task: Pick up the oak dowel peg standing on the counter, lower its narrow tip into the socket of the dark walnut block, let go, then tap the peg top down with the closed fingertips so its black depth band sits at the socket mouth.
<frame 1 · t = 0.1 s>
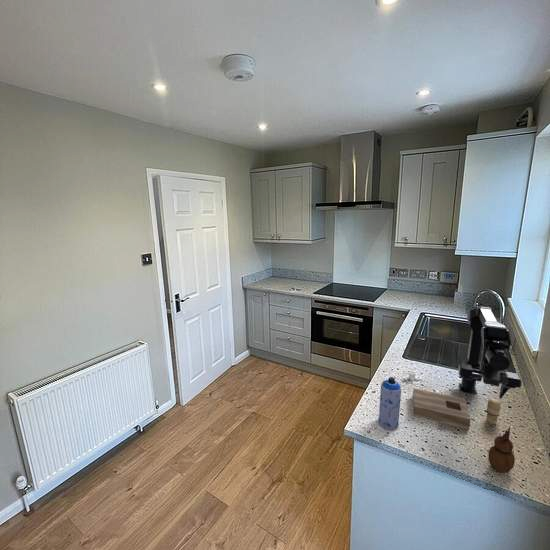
hand: (485, 394, 113), 14 cm above the worktop, fingers open, 9 cm apart
walnut socket block: (438, 411, 125), on the worktop
teacup and saucer: (416, 383, 147), on the worktop
brown bottle gourd: (499, 469, 97), on the worktop
aerosol can: (388, 423, 119), on the worktop
oak peg: (491, 421, 119), on the worktop
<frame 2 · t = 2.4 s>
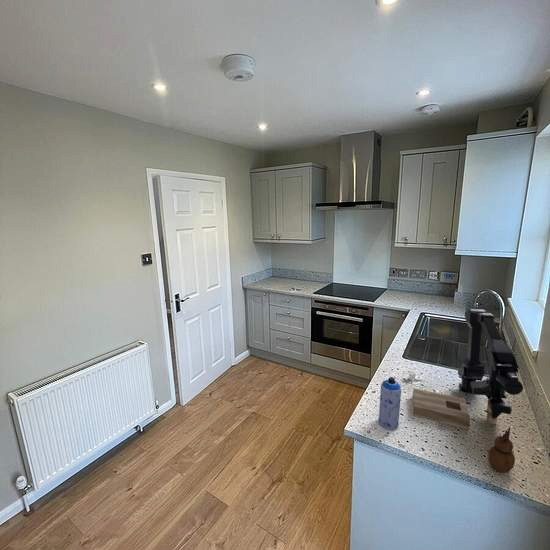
hand: (492, 414, 119), 3 cm above the worktop, fingers closed on oak peg, 4 cm apart
oak peg: (491, 421, 119), on the worktop, touching gripper
everything else where it was.
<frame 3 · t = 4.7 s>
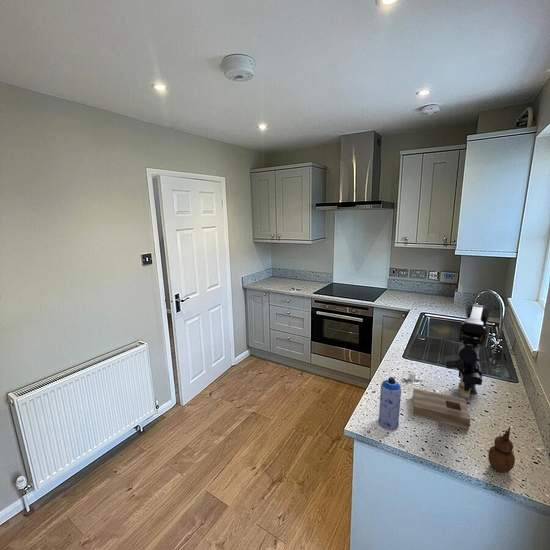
hand: (465, 388, 119), 13 cm above the worktop, fingers closed on oak peg, 4 cm apart
oak peg: (464, 395, 120), point 10 cm above the worktop, touching gripper
everything else where it was.
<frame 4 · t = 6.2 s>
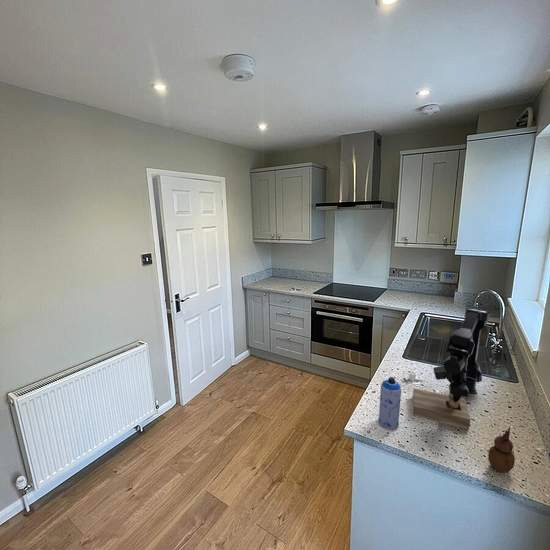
hand: (454, 398, 122), 8 cm above the worktop, fingers closed on oak peg, 4 cm apart
oak peg: (453, 405, 122), point 4 cm above the worktop, touching gripper
everything else where it was.
when the fingers open (5 cm above the worktop, at t = 7.5 s): oak peg drops 1 cm, resting on walnut socket block.
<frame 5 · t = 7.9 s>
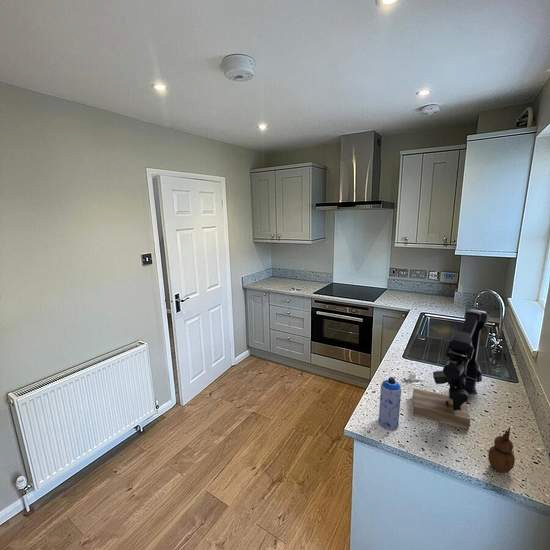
hand: (453, 403, 122), 5 cm above the worktop, fingers open, 9 cm apart
oak peg: (452, 412, 123), point 1 cm above the worktop, touching walnut socket block
everything else where it was.
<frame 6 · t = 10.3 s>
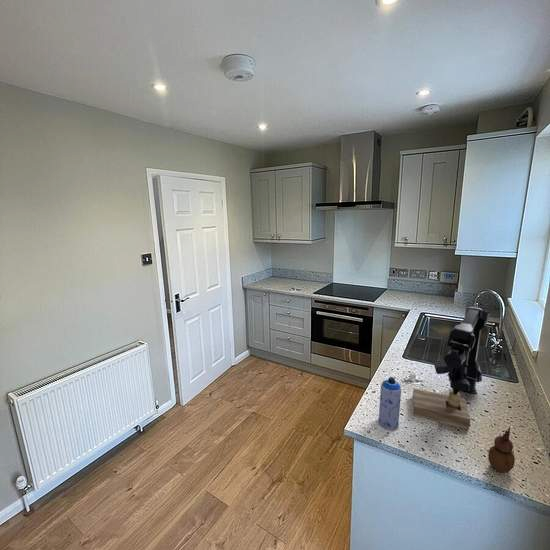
hand: (454, 393, 121), 10 cm above the worktop, fingers closed, pressing on oak peg
oak peg: (452, 412, 123), point 1 cm above the worktop, touching gripper, walnut socket block
everything else where it was.
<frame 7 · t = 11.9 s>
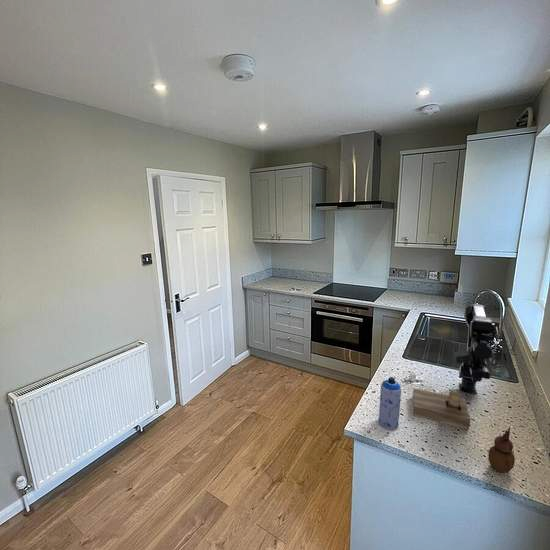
hand: (474, 382, 126), 12 cm above the worktop, fingers closed
oak peg: (452, 412, 123), point 1 cm above the worktop, touching walnut socket block
everything else where it was.
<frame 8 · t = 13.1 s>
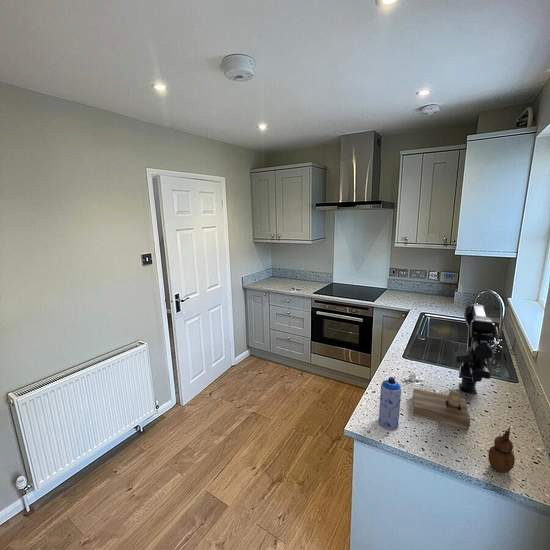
hand: (474, 382, 126), 12 cm above the worktop, fingers closed
nothing on the worktop moved.
at the end: oak peg 0.1 cm from the target spot on the walnut socket block, point 1.0 cm above the walnut socket block's base; oak peg tilted 0°; the gripper is holding nothing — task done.
